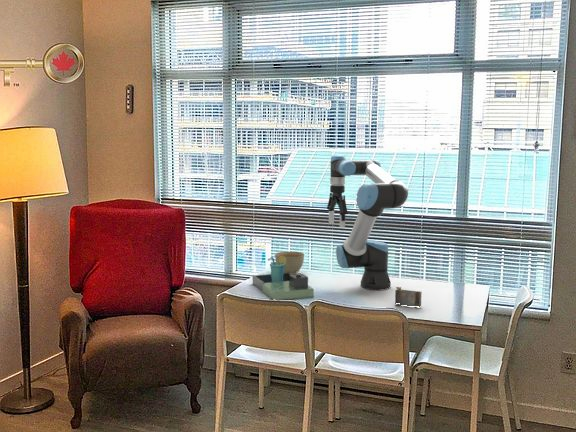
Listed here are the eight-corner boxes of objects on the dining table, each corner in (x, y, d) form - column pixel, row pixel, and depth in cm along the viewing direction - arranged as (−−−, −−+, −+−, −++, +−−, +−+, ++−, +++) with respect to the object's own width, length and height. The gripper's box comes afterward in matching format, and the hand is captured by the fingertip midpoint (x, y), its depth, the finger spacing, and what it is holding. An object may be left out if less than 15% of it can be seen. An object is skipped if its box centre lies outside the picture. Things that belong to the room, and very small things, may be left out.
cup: (274, 288, 319) (274, 258, 317) (262, 286, 323) (262, 257, 321) (290, 282, 331) (290, 254, 329) (277, 280, 335) (277, 252, 333)
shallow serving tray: (313, 296, 308) (313, 274, 306) (274, 300, 301) (274, 277, 299) (289, 280, 338) (289, 260, 337) (252, 283, 331) (252, 263, 330)
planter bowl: (307, 271, 360) (307, 252, 358) (299, 278, 344) (299, 258, 343) (280, 269, 365) (280, 250, 363) (270, 275, 349) (270, 255, 348)
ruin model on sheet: (394, 307, 294) (395, 286, 292) (396, 305, 296) (396, 284, 295) (419, 310, 289) (420, 288, 288) (420, 308, 292) (421, 287, 291)
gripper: (321, 182, 347) (320, 221, 350) (341, 187, 324) (340, 229, 327) (334, 182, 350) (333, 221, 353) (354, 187, 327) (353, 228, 330)
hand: (336, 225), depth 340 cm, fingers open, 13 cm apart
